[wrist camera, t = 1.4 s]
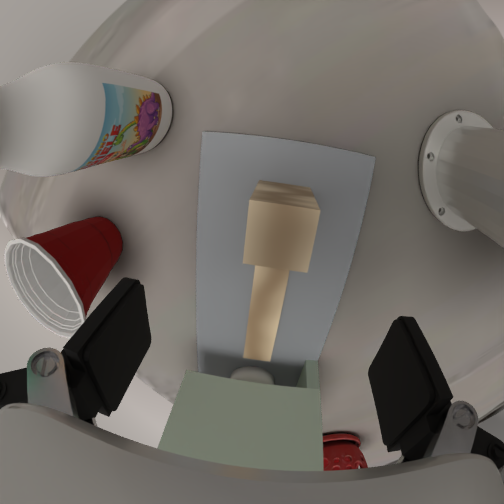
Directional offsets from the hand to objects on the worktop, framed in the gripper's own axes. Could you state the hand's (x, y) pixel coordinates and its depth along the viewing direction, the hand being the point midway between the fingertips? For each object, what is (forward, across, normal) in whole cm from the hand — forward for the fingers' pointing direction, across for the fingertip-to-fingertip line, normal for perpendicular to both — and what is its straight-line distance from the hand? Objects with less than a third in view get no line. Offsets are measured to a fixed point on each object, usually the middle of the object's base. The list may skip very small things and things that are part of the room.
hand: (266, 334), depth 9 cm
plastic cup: (+17, +19, +6) cm, 27 cm away
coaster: (+16, 0, +23) cm, 28 cm away
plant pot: (+17, -19, +44) cm, 51 cm away
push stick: (+16, 0, +8) cm, 18 cm away
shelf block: (+17, 0, +23) cm, 28 cm away
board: (+17, 0, +12) cm, 21 cm away
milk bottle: (+17, +14, -8) cm, 24 cm away
